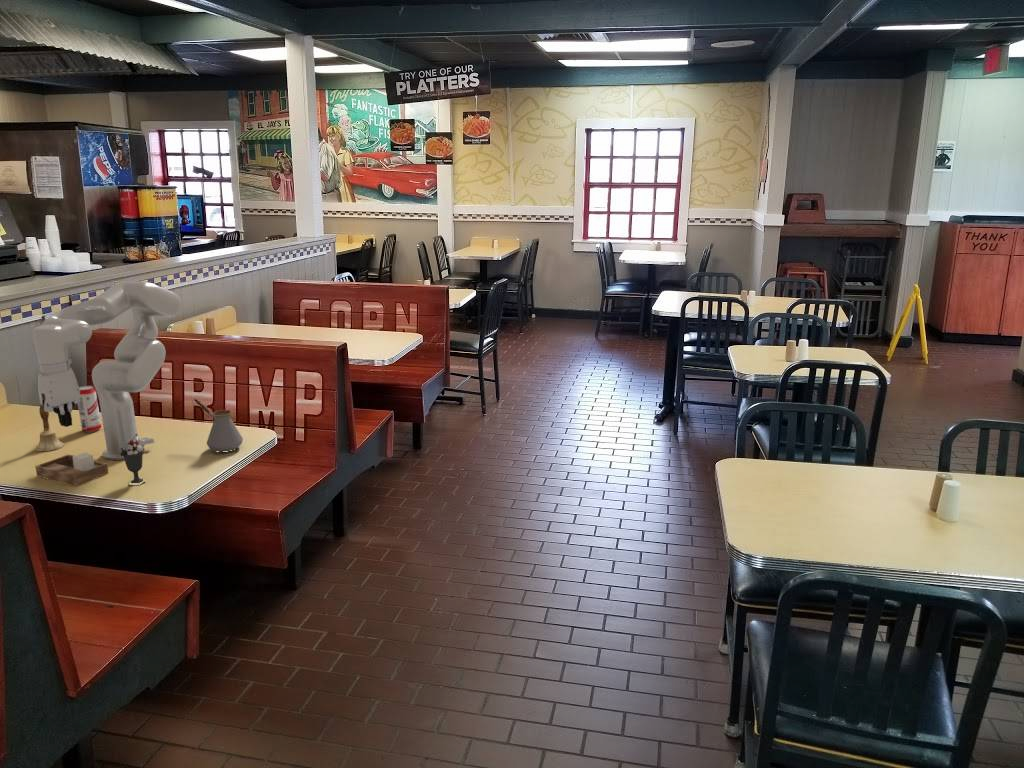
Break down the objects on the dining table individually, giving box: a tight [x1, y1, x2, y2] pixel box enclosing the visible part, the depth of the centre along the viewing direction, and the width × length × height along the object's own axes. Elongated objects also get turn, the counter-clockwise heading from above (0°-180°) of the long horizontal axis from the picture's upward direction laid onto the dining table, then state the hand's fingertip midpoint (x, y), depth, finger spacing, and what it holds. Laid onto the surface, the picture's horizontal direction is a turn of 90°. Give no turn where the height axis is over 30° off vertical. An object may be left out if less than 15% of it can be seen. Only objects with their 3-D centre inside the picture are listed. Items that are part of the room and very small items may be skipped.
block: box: [72, 452, 95, 471], centre depth 236 cm, size 4×4×4 cm
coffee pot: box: [191, 398, 244, 452], centre depth 259 cm, size 21×12×15 cm, turn 54°
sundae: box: [120, 433, 146, 483], centre depth 230 cm, size 7×7×15 cm
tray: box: [35, 454, 109, 487], centre depth 237 cm, size 18×11×3 cm, turn 64°
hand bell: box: [35, 403, 65, 452], centre depth 258 cm, size 8×8×16 cm
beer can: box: [77, 385, 102, 433], centre depth 274 cm, size 6×6×16 cm
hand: (66, 425), depth 231 cm, fingers closed
